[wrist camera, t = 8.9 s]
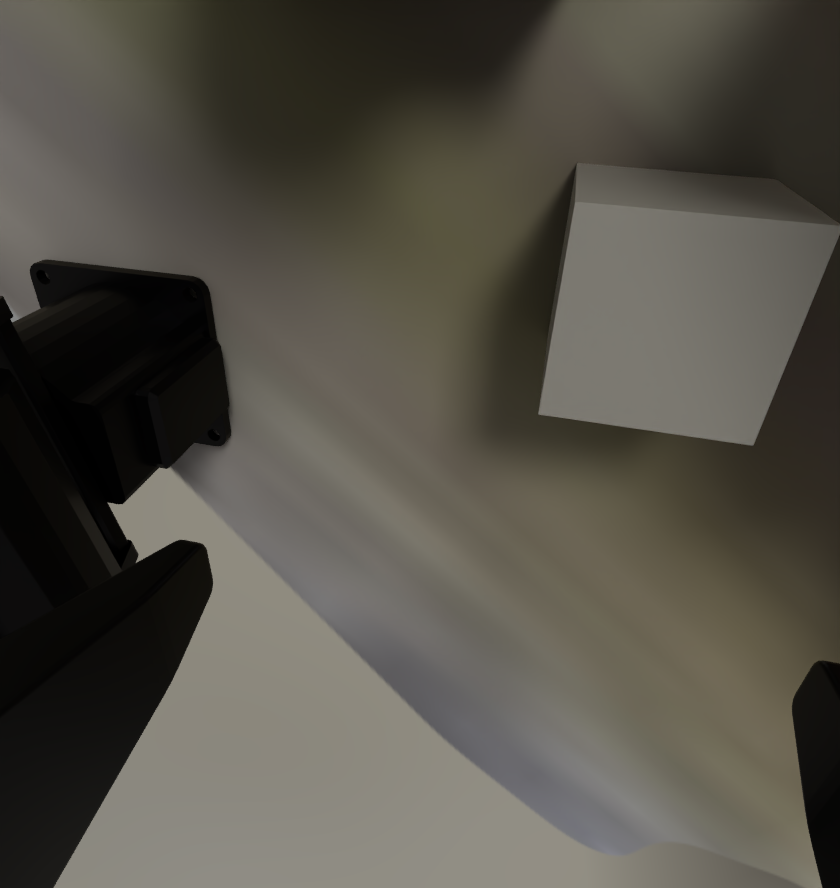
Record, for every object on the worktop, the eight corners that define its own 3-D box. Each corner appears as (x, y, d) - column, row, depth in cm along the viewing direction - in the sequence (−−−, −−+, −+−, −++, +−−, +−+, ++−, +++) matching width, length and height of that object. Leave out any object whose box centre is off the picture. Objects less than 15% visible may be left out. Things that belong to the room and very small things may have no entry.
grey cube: (547, 335, 19) (538, 414, 15) (577, 162, 17) (575, 201, 12) (715, 356, 19) (753, 445, 14) (775, 178, 16) (842, 226, 12)
